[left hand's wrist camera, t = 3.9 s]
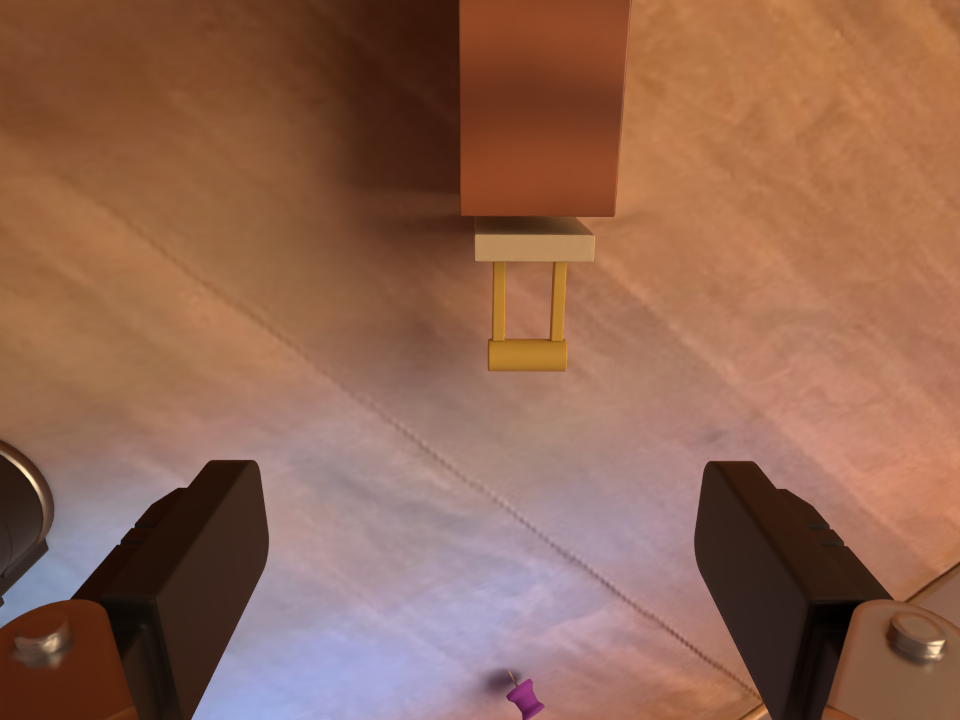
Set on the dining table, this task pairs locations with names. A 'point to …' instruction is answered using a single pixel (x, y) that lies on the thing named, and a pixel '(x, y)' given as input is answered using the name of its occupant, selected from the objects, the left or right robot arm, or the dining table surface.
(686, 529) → the dining table surface
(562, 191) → the cabinet
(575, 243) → the drawer
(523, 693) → the pushpin
